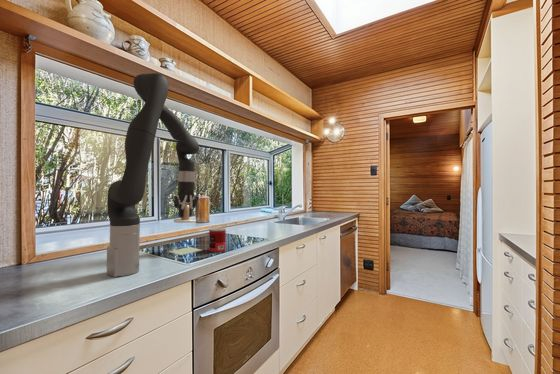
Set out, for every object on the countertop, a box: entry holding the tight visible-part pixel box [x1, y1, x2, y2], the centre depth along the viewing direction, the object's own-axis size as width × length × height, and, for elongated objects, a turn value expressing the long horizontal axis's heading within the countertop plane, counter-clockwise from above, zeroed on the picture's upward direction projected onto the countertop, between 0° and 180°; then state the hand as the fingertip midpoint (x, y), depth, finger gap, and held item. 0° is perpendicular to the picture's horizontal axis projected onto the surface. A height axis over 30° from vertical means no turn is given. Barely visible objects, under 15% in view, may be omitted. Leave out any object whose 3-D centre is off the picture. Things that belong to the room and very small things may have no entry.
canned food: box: [208, 227, 227, 253], centre depth 124 cm, size 8×8×11 cm
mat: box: [168, 246, 202, 256], centre depth 122 cm, size 12×10×1 cm
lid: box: [173, 204, 197, 224], centre depth 122 cm, size 10×10×8 cm
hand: (185, 216), depth 122 cm, fingers closed on lid, 3 cm apart
